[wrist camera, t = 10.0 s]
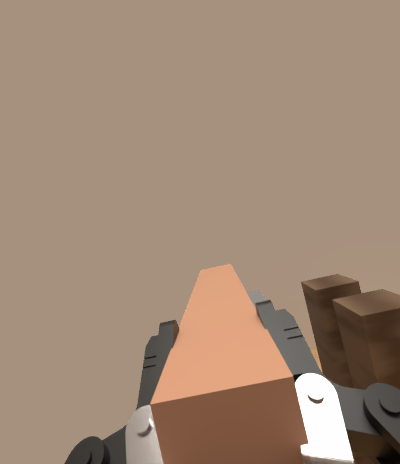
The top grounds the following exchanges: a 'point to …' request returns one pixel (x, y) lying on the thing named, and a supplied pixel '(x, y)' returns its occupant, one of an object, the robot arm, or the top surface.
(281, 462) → the beam
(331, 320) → the gate
